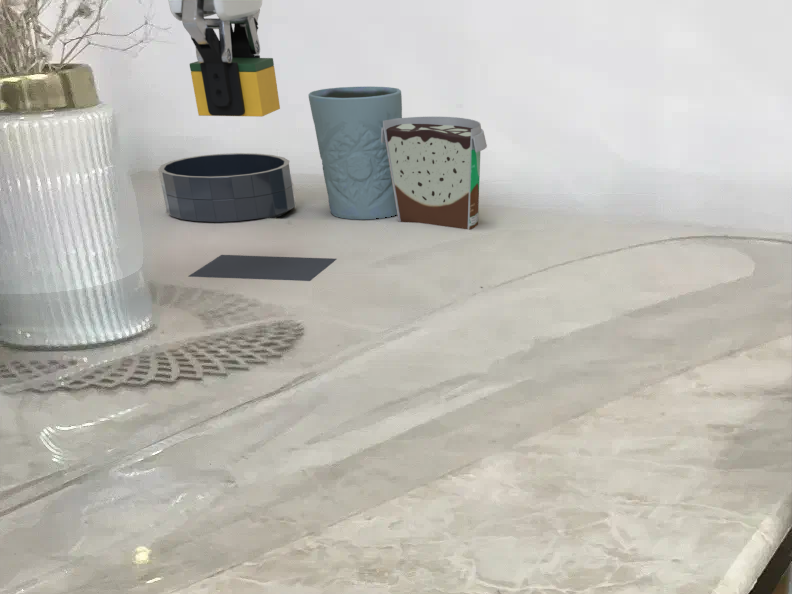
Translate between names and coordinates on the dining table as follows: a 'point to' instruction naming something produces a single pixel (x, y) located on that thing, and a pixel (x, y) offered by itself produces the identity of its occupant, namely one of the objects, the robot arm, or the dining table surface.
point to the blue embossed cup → (356, 148)
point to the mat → (264, 267)
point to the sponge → (245, 86)
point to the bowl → (227, 187)
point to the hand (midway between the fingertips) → (238, 108)
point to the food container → (435, 169)
